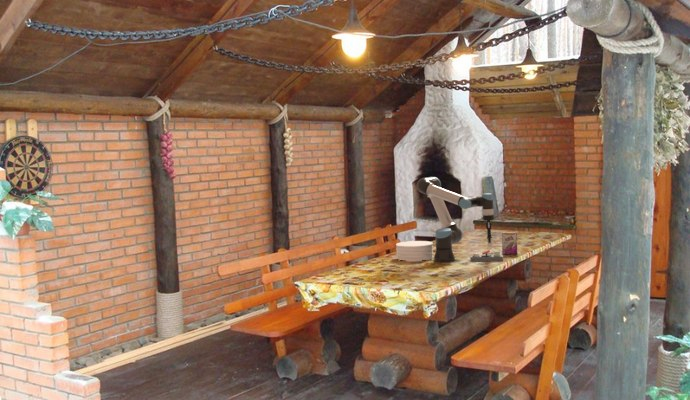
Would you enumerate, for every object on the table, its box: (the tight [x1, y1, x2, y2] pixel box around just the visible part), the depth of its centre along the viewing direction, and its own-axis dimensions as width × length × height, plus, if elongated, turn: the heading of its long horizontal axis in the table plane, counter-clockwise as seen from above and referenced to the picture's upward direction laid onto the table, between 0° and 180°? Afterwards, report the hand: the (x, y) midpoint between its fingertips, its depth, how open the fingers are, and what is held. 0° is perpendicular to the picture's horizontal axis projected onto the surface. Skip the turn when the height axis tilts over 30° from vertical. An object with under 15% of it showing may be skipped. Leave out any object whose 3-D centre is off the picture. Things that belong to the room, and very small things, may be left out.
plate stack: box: [395, 240, 435, 262], centre depth 515 cm, size 28×28×12 cm
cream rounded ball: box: [473, 252, 480, 257], centre depth 493 cm, size 4×4×4 cm
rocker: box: [481, 249, 491, 255], centre depth 492 cm, size 6×4×2 cm
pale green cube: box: [493, 250, 501, 256], centre depth 490 cm, size 4×4×4 cm
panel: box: [469, 253, 504, 262], centre depth 492 cm, size 23×8×4 cm, turn 78°
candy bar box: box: [501, 231, 518, 255], centre depth 514 cm, size 11×5×16 cm, turn 74°
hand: (489, 247), depth 491 cm, fingers closed
